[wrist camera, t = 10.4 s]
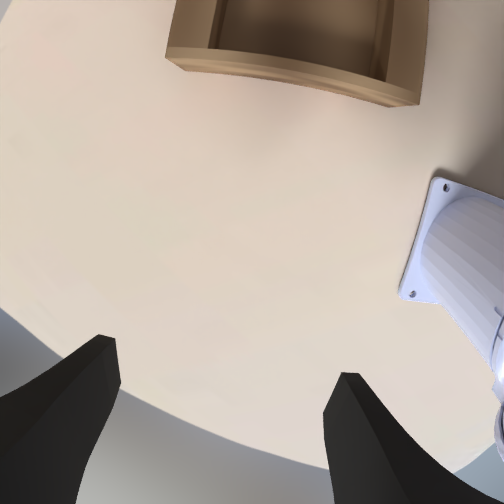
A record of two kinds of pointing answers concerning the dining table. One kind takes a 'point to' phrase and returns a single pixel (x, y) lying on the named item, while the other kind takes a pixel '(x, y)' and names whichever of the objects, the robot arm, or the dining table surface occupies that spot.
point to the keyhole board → (308, 44)
